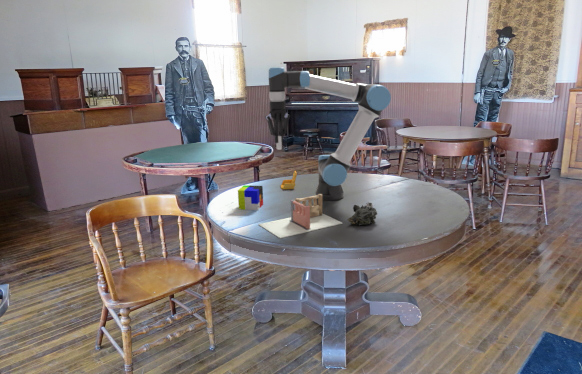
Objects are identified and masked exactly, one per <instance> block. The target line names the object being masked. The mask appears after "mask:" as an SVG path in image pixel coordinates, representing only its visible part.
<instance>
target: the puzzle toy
mask: <svg viewBox="0 0 582 374" xmlns="http://www.w3.org/2000/svg"><path fill="white" fill-rule="evenodd" d="M263 191H264V190H263V185H248V184H246V185H245V184H244V185H243V186H241V187H240V188H239V189H238V190H237V199H238V210H240V211H241V210H245V211H250V210H251V211H259V210H260V209H259V208H262V206H263V205H264V193H263Z"/></svg>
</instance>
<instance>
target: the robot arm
mask: <svg viewBox="0 0 582 374" xmlns="http://www.w3.org/2000/svg"><path fill="white" fill-rule="evenodd" d="M287 88H300V89H305V90H310V91H314V92H318V93H324V94H327V95H332V96H337V97H341V98H345V99H350V100H351V101H352V102H354V103H357V106H358V111H357V112H356V115H355V116H354V118H353V120H352V122H351V123H350V125H349V127H348V129H347V131H346V132H345V133H344V136H343V138H342V139H341V141H340V143H339V145H338V146H337V149H336V150H335V152H333V153H330V154H320V155H319V156H318V160H317V163H318V167H317V168H318V170H317V171H318V184H317V186H316V187H317V188H316V190H315V196H316V195H318V194H322V201H337V200H340V199H343V198H344V190H343V187H342V184H343V183H345V181H346V179H347V176H348V172H349V169H350V168H351V166H352V164H351V160H352V158H353V156H354V155H355V153H356V152H357V149H358V148H359V146H360V144H361V142H362V140H363V139H364V137H365V136H366V134H367V133H368V130H369V129H370V127H371V125H372V123H373V122H374V120H375V119H377V118H380V115H381V114H382V113H383V111H384V110H385V109H386V108H387V107H388V106H389V105H390V103H391V100H392V94H391V92H390V90H389V89H388V88H387V87H386V86H385V85H382V84H377V83H376V84H375V83H371V84H370V83H369V84H368V83H362V82H361V83H360V82H356V83H351V82H346V81H342V80H339V79H332V78H329V77H324V76H319V75H316V74H315V75H314V74H311V73H310V72H309V70H293V71H286V70H285V68H284V67H280V66H279V67H270V68H269V69H268V89H269V90H268V91H269V92H268V93H269V100H270V101H269V109H270V110H269V114H268V115H266V116H265V119H266V121H267V125H268V129H269V133H270V135H271V136H274V143H275V144H276V147H275V148H276V150H278V151H279V150H280V151H282V149H283V147H282V146H283V145H282V143H283V142H284V138H283V137H284V136H285V135H287V131H288V125H289V121H290V118H291V114H288V112H287V110H286V89H287Z"/></svg>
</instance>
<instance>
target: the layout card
mask: <svg viewBox="0 0 582 374" xmlns="http://www.w3.org/2000/svg"><path fill="white" fill-rule="evenodd" d="M343 224H344V223H343V222H342V221H340V220H337V219H335V218H333V217H331V216H329V215H327V214H325V213H322V215H319V216H315V217H310V228H305V227H304V226H302V225H300V224H298V223H296V222H295V221H293V220H291V216H290V217H287V218H280V219H278V220H272V221H267V222H261V223H259V224H258V226H260V227H261V228H262V229H265V231H267V232H269V233H270V234H272V235H274V236H275V237H277V238H278V239H283V238H287V237H292V236H297V235H301V234H305V233H309V232H313V231H317V230H321V229H326V228H330V227H335V226H339V225H343Z"/></svg>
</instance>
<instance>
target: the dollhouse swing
mask: <svg viewBox="0 0 582 374" xmlns="http://www.w3.org/2000/svg"><path fill="white" fill-rule="evenodd" d="M297 175H298V173H297V171H296V170H294V171H293V174H292V178H291V179H283V180H282V183H281V184H280V189H281V190H294V189H295V187H296V181H297Z"/></svg>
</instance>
